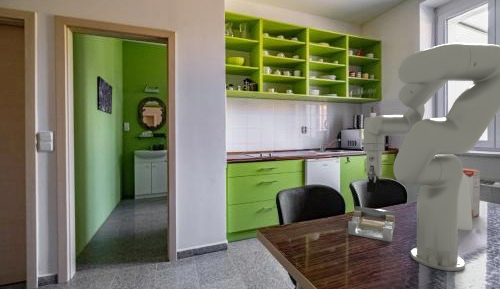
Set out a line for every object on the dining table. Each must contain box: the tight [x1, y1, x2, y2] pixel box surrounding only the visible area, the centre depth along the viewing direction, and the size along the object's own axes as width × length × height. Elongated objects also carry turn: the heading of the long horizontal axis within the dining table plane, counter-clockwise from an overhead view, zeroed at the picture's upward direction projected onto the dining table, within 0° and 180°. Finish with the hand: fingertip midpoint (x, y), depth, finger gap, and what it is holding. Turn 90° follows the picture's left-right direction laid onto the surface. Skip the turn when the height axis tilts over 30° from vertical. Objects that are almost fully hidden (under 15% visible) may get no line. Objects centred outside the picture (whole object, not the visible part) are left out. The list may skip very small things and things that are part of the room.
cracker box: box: [463, 168, 481, 218], centre depth 118 cm, size 14×6×21 cm, turn 25°
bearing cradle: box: [353, 209, 396, 233], centre depth 102 cm, size 8×14×6 cm, turn 57°
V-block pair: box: [347, 215, 394, 243], centre depth 94 cm, size 8×14×4 cm, turn 57°
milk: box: [458, 173, 474, 231], centre depth 103 cm, size 12×12×26 cm
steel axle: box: [354, 206, 394, 222], centre depth 102 cm, size 4×14×4 cm, turn 57°
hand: (373, 189), depth 102 cm, fingers open, 9 cm apart
